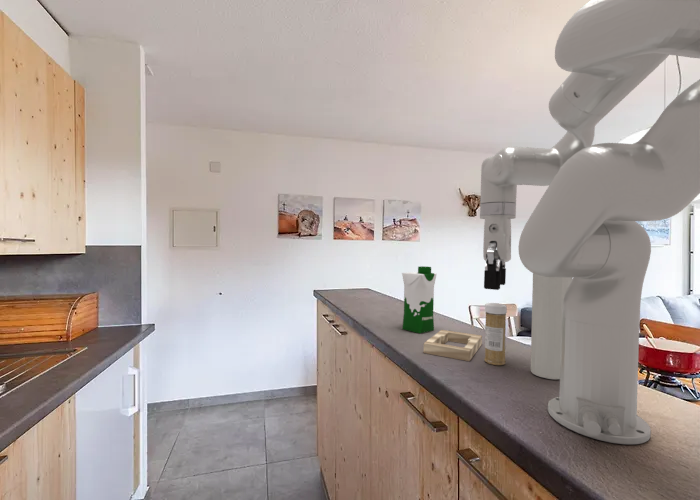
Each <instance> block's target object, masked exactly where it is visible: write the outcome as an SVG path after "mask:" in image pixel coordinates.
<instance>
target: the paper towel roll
mask: <svg viewBox="0 0 700 500" xmlns="http://www.w3.org/2000/svg"><path fill="white" fill-rule="evenodd" d="M572 279H573V277H544V276H540V275H536V274H534V273H532V293H531V294H532V301H531V302H532V303H531V304H532V305H531V335H530V336H531V338H530V339H531V343H530V371H531V373H532V374H533V375H535V376H537V377H540V378H543V379H547V380H560V355H561V316H562V303H563V298H564V295H565V293H566V290H567V288H568V286H569V285H570V283H571V281H572Z"/></svg>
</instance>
